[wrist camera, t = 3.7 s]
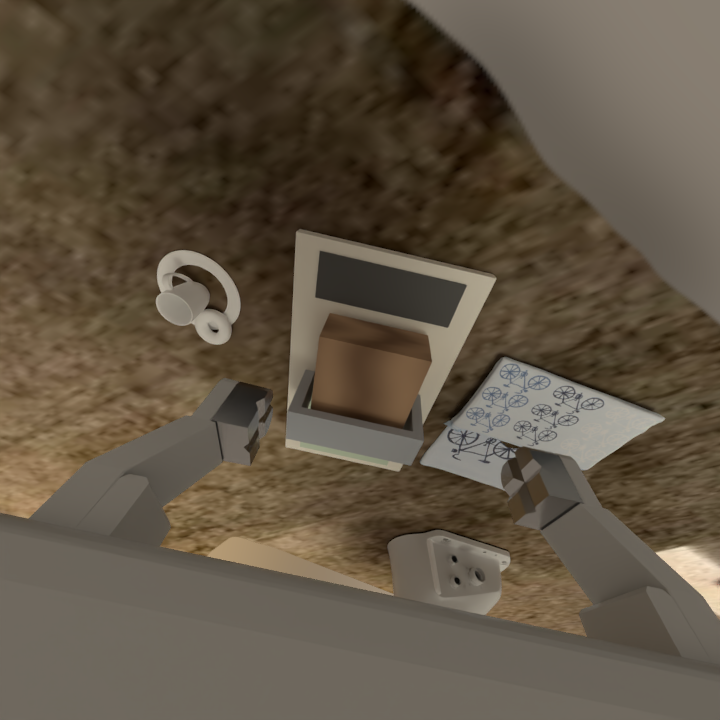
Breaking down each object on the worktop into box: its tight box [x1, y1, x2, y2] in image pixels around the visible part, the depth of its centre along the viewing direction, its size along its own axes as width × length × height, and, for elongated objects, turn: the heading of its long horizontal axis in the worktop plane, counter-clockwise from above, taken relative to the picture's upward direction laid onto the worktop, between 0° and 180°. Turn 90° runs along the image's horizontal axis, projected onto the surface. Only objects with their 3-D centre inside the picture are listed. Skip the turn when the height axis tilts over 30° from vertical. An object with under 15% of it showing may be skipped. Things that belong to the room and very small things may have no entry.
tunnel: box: [286, 370, 424, 466], centre depth 29 cm, size 12×4×6 cm, turn 79°
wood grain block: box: [311, 313, 432, 429], centre depth 27 cm, size 9×12×4 cm
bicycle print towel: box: [420, 357, 665, 490], centre depth 33 cm, size 19×20×2 cm
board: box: [286, 229, 497, 472], centre depth 31 cm, size 16×28×1 cm, turn 169°
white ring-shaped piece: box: [156, 250, 241, 345], centre depth 26 cm, size 9×8×4 cm
